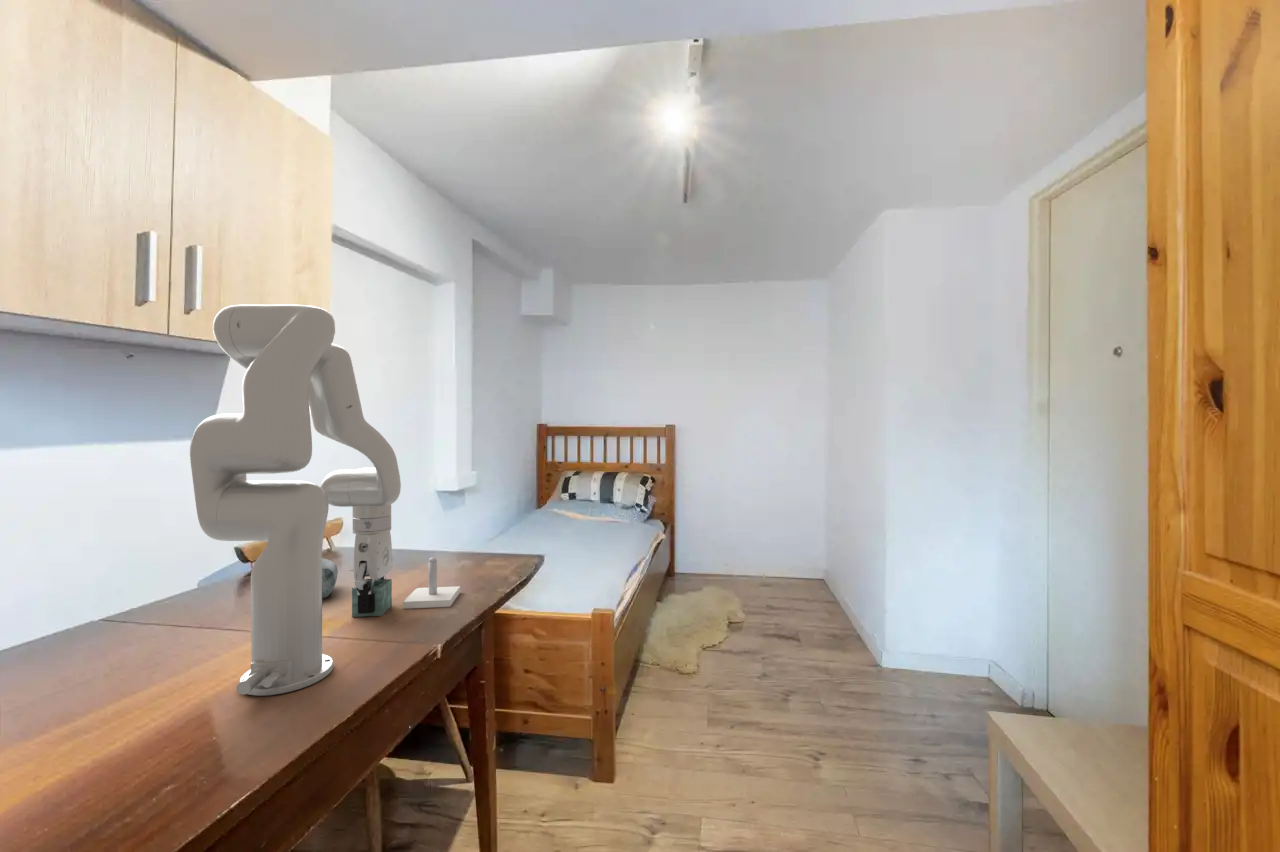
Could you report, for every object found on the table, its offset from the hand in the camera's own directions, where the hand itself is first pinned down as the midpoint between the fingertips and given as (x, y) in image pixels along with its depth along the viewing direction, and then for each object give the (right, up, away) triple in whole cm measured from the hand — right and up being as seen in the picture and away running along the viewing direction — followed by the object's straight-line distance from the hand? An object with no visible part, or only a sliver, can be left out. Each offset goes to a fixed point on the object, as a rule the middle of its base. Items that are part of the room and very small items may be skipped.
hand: (372, 606), depth 115 cm
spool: (-20, -1, +12) cm, 23 cm away
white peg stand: (+10, -1, +7) cm, 13 cm away
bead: (0, -1, 0) cm, 1 cm away
